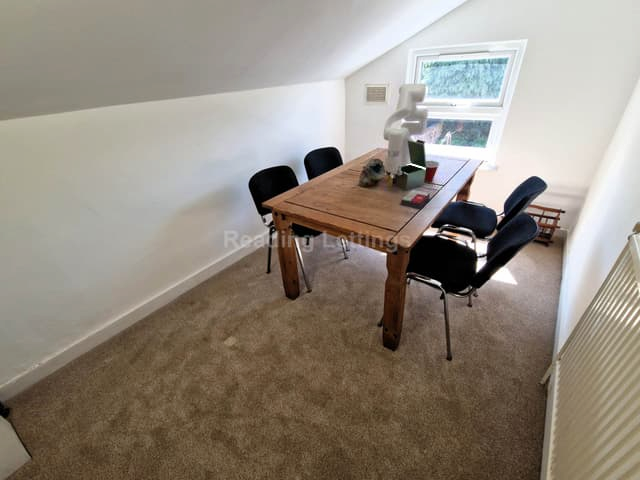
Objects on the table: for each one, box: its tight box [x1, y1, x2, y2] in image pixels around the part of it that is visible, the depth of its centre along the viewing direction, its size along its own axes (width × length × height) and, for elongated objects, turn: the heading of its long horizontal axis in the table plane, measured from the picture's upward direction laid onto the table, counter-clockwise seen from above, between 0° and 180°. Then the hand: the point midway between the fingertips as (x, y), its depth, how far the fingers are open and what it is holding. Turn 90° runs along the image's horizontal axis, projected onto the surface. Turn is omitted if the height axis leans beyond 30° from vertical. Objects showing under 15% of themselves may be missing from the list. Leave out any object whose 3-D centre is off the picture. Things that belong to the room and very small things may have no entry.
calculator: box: [400, 189, 431, 210], centre depth 161 cm, size 11×4×15 cm
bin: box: [392, 164, 426, 191], centre depth 181 cm, size 16×13×11 cm
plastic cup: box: [424, 160, 440, 183], centre depth 185 cm, size 11×11×12 cm
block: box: [386, 173, 394, 186], centre depth 174 cm, size 4×4×4 cm
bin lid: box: [408, 139, 427, 168], centre depth 176 cm, size 16×13×5 cm
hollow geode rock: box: [358, 158, 386, 187], centre depth 191 cm, size 28×13×15 cm
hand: (391, 182), depth 175 cm, fingers closed on block, 4 cm apart
